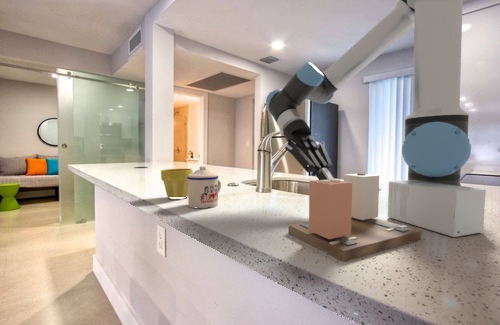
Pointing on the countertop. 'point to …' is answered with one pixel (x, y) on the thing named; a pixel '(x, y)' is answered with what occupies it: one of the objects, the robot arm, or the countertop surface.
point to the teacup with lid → (203, 188)
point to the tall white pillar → (364, 195)
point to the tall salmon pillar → (330, 208)
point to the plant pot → (176, 181)
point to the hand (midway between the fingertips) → (334, 191)
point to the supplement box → (437, 206)
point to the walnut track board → (358, 238)
